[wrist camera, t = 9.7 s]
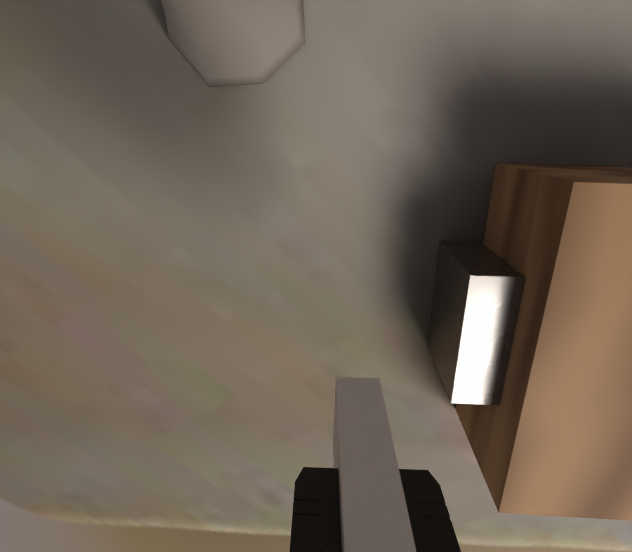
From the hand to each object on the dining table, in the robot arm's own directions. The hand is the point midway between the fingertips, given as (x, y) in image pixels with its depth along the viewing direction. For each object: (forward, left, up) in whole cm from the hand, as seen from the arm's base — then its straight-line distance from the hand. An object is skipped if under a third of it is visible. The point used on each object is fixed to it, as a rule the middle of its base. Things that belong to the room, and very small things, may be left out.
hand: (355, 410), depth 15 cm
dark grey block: (+11, 0, -12) cm, 16 cm away
